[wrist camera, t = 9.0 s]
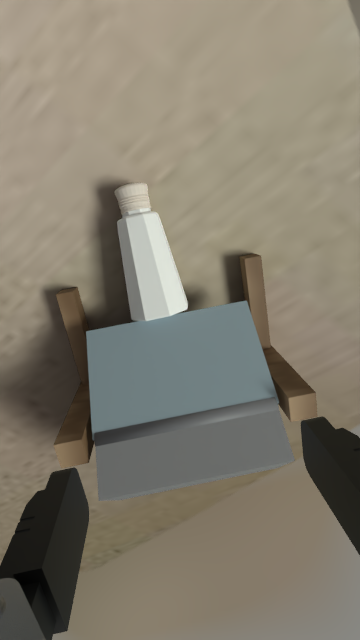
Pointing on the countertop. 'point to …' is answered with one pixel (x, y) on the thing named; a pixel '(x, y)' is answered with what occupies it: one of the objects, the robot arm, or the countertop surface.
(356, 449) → the robot arm
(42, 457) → the countertop surface
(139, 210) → the pepper shaker
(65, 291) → the wooden frame stand
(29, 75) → the countertop surface
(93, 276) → the countertop surface
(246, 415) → the trapdoor
